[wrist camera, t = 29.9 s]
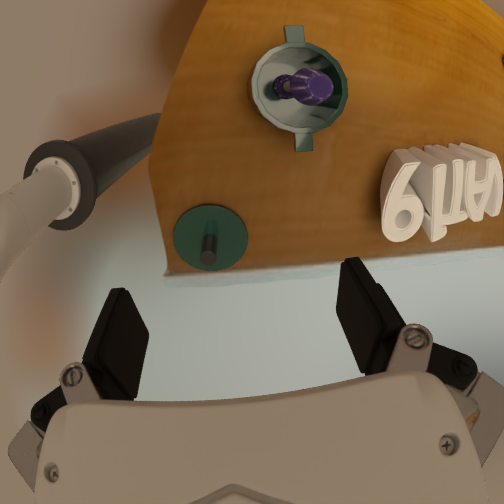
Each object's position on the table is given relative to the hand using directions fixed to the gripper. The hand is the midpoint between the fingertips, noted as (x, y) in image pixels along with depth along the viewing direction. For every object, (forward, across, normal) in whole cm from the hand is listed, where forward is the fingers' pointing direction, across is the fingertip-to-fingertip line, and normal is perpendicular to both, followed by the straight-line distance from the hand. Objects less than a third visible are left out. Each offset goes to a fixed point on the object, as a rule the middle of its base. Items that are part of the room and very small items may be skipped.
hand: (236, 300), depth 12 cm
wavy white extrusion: (+36, -41, +8) cm, 55 cm away
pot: (+36, -10, -9) cm, 38 cm away
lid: (+36, +6, +16) cm, 40 cm away
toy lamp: (+36, -10, -9) cm, 38 cm away
